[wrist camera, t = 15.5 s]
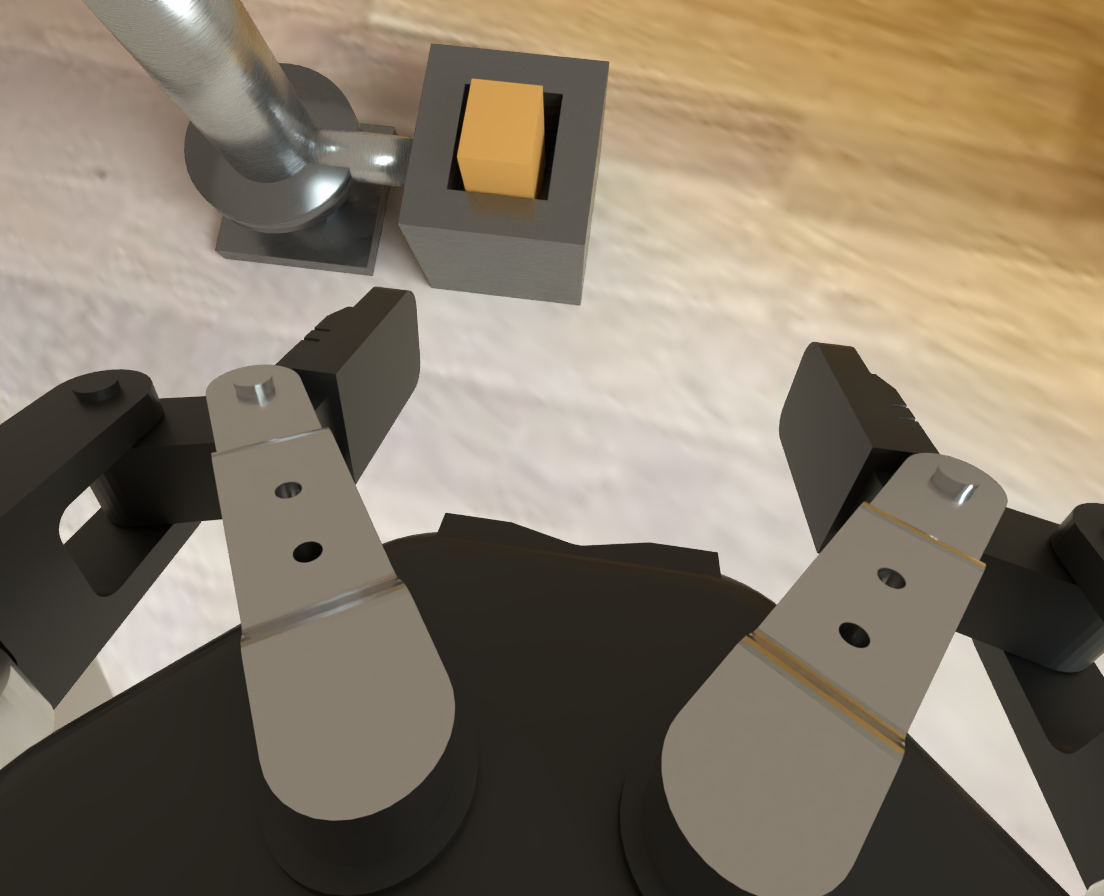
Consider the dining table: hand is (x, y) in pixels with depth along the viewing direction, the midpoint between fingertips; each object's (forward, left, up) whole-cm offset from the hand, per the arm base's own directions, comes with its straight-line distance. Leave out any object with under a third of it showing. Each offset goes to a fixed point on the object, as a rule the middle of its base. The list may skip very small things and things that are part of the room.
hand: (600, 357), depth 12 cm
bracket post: (0, -18, -20) cm, 27 cm away
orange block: (-4, -14, -19) cm, 24 cm away
